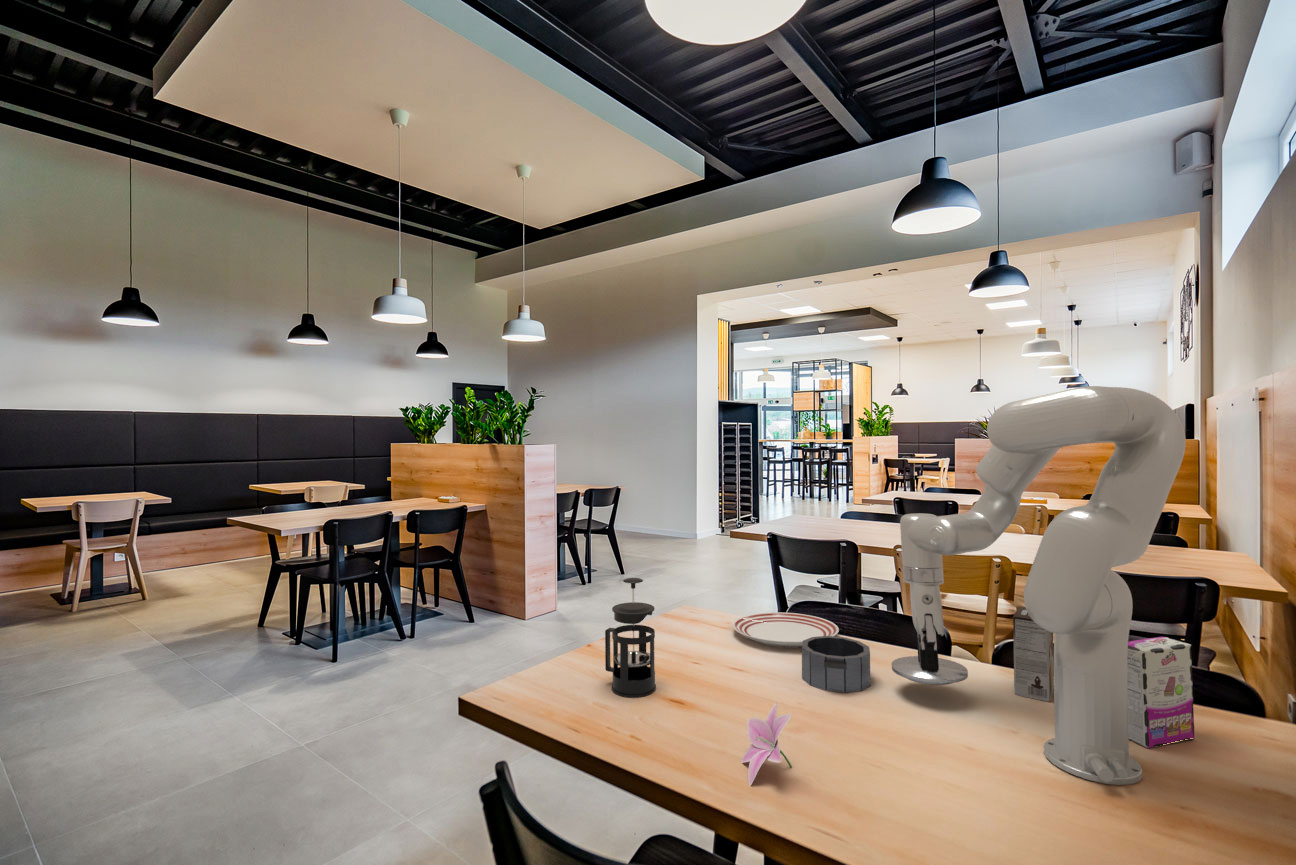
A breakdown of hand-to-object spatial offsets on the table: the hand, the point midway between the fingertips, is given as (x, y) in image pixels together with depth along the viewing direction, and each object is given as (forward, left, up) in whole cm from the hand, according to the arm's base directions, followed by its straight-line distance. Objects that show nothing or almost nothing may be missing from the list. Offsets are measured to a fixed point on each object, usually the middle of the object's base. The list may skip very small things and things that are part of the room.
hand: (928, 665), depth 121 cm
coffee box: (+9, -21, -6) cm, 24 cm away
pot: (+4, +18, -6) cm, 19 cm away
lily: (-37, +28, -6) cm, 47 cm away
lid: (0, 0, -2) cm, 2 cm away
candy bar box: (-7, -35, -6) cm, 36 cm away
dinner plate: (+30, +31, -7) cm, 44 cm away
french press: (-13, +59, -6) cm, 61 cm away
